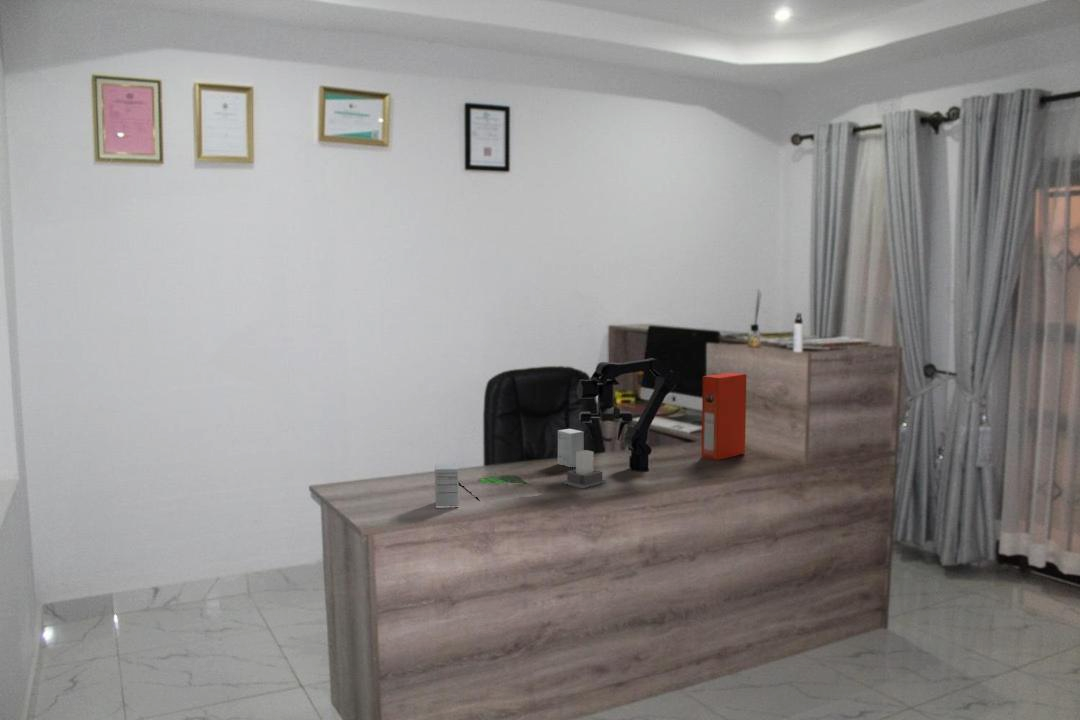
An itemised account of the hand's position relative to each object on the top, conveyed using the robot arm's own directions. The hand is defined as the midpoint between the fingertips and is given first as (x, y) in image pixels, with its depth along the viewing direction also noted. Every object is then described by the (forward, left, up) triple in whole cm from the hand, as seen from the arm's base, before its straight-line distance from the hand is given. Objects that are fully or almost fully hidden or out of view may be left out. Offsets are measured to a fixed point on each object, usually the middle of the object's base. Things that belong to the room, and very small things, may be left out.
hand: (605, 439), depth 312 cm
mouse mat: (+38, +22, -13) cm, 46 cm away
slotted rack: (+9, +15, -12) cm, 21 cm away
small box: (+12, -11, -12) cm, 20 cm away
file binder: (-49, -25, -12) cm, 57 cm away
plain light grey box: (+9, +15, -11) cm, 21 cm away
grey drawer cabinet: (+54, +41, -12) cm, 69 cm away
